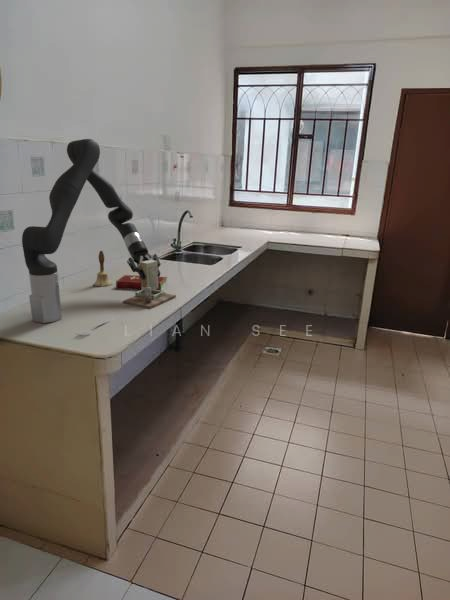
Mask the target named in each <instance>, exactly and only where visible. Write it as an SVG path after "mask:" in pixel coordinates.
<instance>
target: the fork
mask: <svg viewBox="0 0 450 600" xmlns="http://www.w3.org/2000/svg"><path fill="white" fill-rule="evenodd" d="M113 320H115V317H110V318H109V319H107V320H105V321H103V322H101V323H98V324H95V325H94V326H93V327H92V328H90V329H89V330H88V331H90V332H88V331H84V332H79V333H78V332H77V333H75V335H78V336H89V335H91V334H92V333H91V332H95V329H96V328H97V327H98V326H101V325H105V324H107V323H108V322H109V323H110V322H111V321H113Z"/></svg>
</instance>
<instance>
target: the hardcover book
mask: <svg viewBox="0 0 450 600" xmlns="http://www.w3.org/2000/svg"><path fill="white" fill-rule="evenodd" d="M167 279H168V276H159V277H158V289H155V290H160V291H162V290H163V289H164V288H165V287H166V285H167ZM115 288H116V289H122V290H138V291H140V290H142V289H141V278H140V276H139V275H137V274H136V275H135V274H134V275H131V274H124V275H123V276H121V277H120V278H118V279H117V280H115Z"/></svg>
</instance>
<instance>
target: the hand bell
mask: <svg viewBox="0 0 450 600" xmlns="http://www.w3.org/2000/svg"><path fill="white" fill-rule="evenodd" d="M98 262H99V272H98V273H96V274H97V275H96V280H95V282H93V285H94V286H95V287H109V286H111V285H113V283H112V281H111V280H110V279H109V275H108V273H107V272H106V271H105V268H104V263H105V253H104V251H103V250H100V251H99V253H98Z"/></svg>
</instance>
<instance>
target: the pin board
mask: <svg viewBox="0 0 450 600" xmlns="http://www.w3.org/2000/svg"><path fill="white" fill-rule="evenodd" d="M175 298H177V294H173V293H172V294H171V293H167V292H166V291H165V290H161V291H160V290H151V287H146V288H145V290H138V291H135V292H134V296H132V297H129V298H126V299H124V300H122V304H125V305H131V306H135V307H141V308H146V309H154V308H156V307H158V306H160V305H163V304H164V303H167V302H169V301H171V300H173V299H175Z"/></svg>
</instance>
